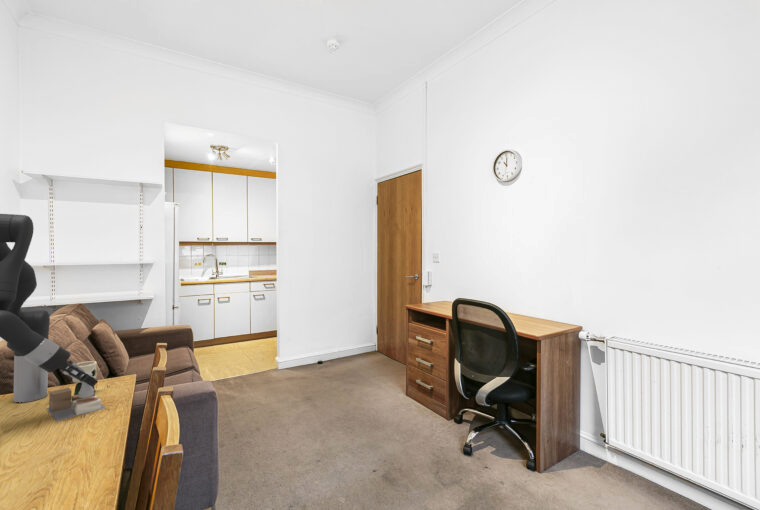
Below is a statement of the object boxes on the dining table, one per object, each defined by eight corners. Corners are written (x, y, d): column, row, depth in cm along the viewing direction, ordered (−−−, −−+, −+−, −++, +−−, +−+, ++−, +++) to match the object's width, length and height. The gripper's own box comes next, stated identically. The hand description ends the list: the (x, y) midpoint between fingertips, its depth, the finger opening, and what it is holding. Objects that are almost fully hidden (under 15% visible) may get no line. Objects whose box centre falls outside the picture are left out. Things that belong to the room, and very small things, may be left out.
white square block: (72, 409, 121) (72, 400, 121) (95, 403, 126) (95, 394, 126) (76, 414, 117) (77, 405, 117) (100, 408, 122) (100, 399, 122)
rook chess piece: (84, 398, 118) (85, 375, 119) (74, 397, 119) (74, 374, 120) (97, 394, 123) (98, 371, 123) (87, 393, 124) (88, 370, 124)
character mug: (94, 400, 132) (95, 365, 132) (69, 404, 128) (70, 368, 128) (97, 391, 141) (98, 358, 141) (74, 394, 137) (75, 361, 138)
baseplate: (46, 411, 122) (46, 408, 122) (93, 400, 132) (93, 396, 132) (55, 425, 112) (56, 421, 112) (106, 411, 122) (106, 407, 122)
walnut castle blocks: (49, 408, 122) (49, 391, 122) (92, 397, 131) (92, 381, 131) (51, 412, 119) (52, 394, 119) (96, 401, 128) (96, 384, 128)
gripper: (63, 348, 111) (109, 377, 121) (54, 342, 120) (98, 369, 129) (39, 369, 107) (89, 397, 116) (32, 361, 116) (79, 388, 125)
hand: (93, 382), depth 123 cm, fingers closed on rook chess piece, 3 cm apart
